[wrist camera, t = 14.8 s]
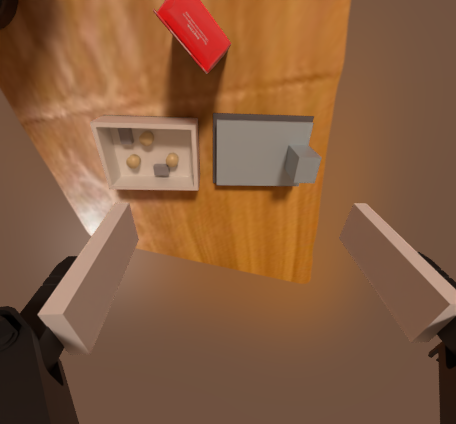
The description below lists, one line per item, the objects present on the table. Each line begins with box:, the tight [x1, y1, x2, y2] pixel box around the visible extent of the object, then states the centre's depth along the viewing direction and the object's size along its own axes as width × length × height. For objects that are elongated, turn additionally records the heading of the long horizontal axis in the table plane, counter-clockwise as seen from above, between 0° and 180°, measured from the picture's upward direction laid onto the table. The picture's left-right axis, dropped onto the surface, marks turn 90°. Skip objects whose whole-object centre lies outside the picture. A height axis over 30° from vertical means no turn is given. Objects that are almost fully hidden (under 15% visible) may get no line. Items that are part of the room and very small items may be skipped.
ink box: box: [153, 0, 231, 74], centre depth 31 cm, size 8×5×15 cm, turn 43°
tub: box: [90, 115, 200, 191], centre depth 45 cm, size 18×13×6 cm
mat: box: [213, 113, 314, 183], centre depth 48 cm, size 20×15×1 cm
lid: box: [217, 120, 321, 186], centre depth 44 cm, size 19×14×9 cm
